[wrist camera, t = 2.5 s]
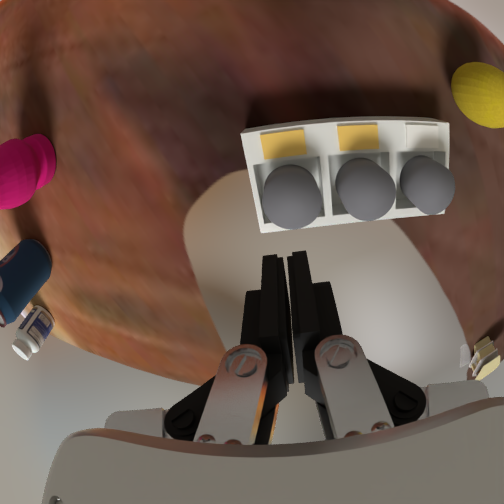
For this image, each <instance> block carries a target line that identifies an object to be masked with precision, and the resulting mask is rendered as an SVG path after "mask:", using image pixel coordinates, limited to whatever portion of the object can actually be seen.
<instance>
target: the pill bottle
mask: <svg viewBox="0 0 504 504" xmlns="http://www.w3.org/2000/svg"><path fill="white" fill-rule="evenodd" d="M54 325H55V322H54V319H53V317H52V316H51V314H50V313H49V312H48V311H47V310H46V309H44V308H43V307H41V306H39V305H36V306H34V307H33V309H32V310H31V311H30V313H29V314H28V315H27V317H26V318H25V320H24V321H23V322H22V324H21V325H20V327H19V328H18V330H17V331H16V337H17V339H16V340H15V341H14V342H13V344H12V347H13V349H14V350H15V351H16V353H17V354H18V355H20V356H21V357H22V358H23V359H25V360H29V358H30V357H31V352H33V353H36V352H37V351H38V350H39V349H40V347H41V346H42V344H43V343H44V341H45V339H46V338H47V336H48V335H49V333H50V331H51V330H52V328H53V327H54Z"/></svg>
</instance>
